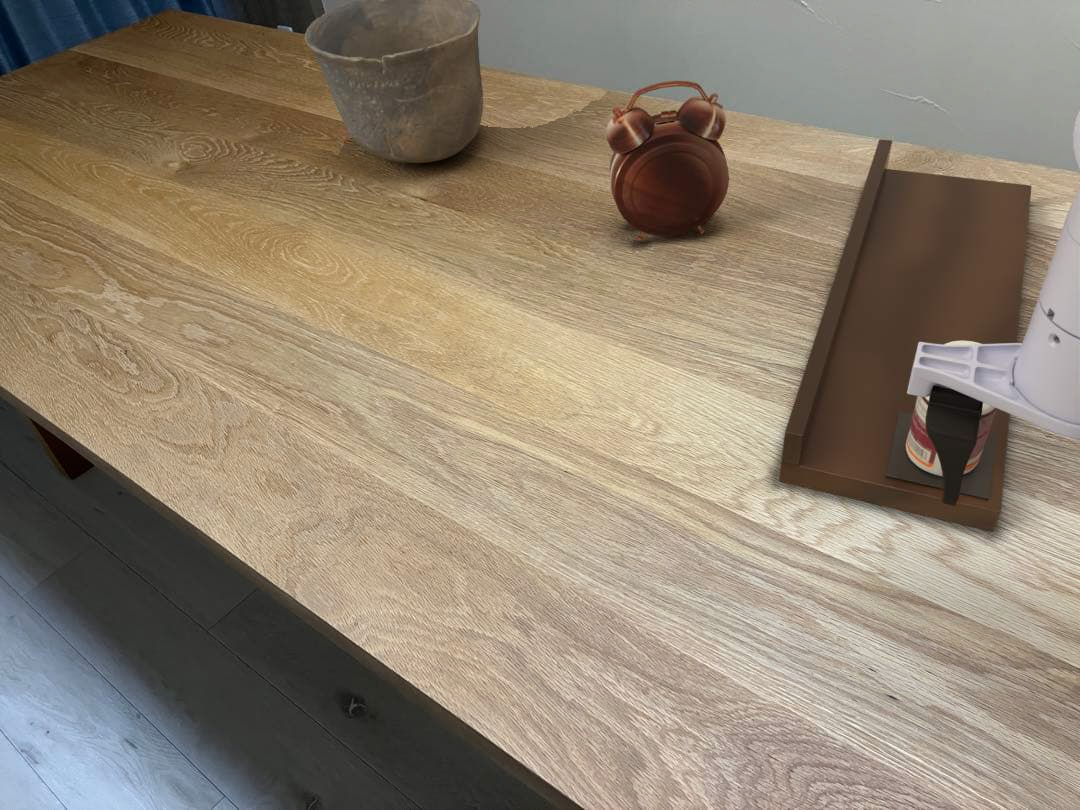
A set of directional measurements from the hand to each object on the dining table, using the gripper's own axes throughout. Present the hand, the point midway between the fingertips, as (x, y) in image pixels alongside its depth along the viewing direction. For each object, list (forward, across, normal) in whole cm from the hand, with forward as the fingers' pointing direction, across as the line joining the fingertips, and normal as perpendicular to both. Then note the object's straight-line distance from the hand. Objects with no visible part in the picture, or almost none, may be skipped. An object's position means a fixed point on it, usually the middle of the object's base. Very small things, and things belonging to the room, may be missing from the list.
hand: (1026, 508), depth 49 cm
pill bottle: (+8, +4, -10) cm, 14 cm away
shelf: (+10, +7, -27) cm, 30 cm away
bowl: (+10, +63, -42) cm, 77 cm away
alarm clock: (+10, +31, -34) cm, 47 cm away
